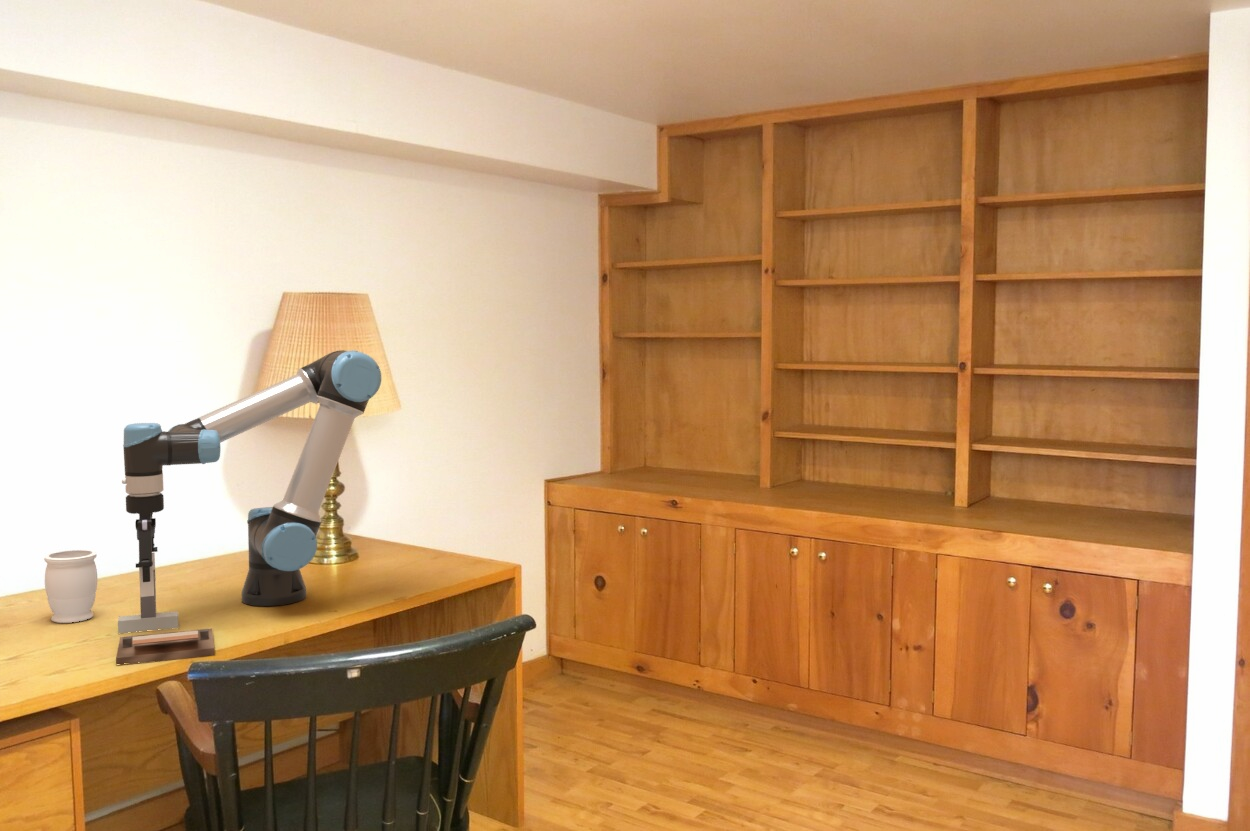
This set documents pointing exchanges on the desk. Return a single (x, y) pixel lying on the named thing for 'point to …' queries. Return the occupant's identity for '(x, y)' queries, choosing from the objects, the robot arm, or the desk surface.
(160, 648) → the board
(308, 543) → the robot arm
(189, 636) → the tile
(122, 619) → the paddle
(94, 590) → the jar
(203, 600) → the desk surface
